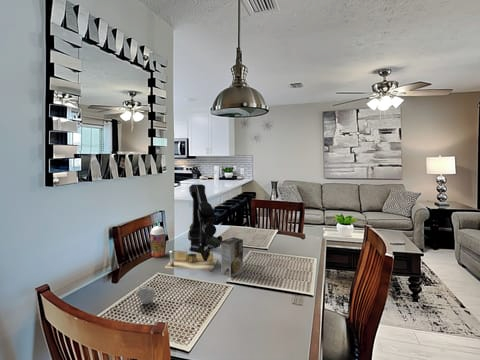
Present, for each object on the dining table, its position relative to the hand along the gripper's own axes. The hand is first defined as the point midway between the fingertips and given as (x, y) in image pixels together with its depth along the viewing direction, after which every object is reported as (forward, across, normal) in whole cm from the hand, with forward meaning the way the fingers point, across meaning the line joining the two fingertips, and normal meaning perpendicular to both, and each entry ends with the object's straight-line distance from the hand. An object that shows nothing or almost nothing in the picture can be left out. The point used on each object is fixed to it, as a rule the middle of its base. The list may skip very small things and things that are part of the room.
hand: (205, 261), depth 148 cm
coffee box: (+2, -3, -17) cm, 18 cm away
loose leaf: (+1, +3, +2) cm, 3 cm away
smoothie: (+2, -2, +30) cm, 31 cm away
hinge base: (+1, -1, +12) cm, 12 cm away
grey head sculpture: (+2, -44, -3) cm, 44 cm away
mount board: (+2, -2, +7) cm, 7 cm away
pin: (+1, -10, +13) cm, 17 cm away
